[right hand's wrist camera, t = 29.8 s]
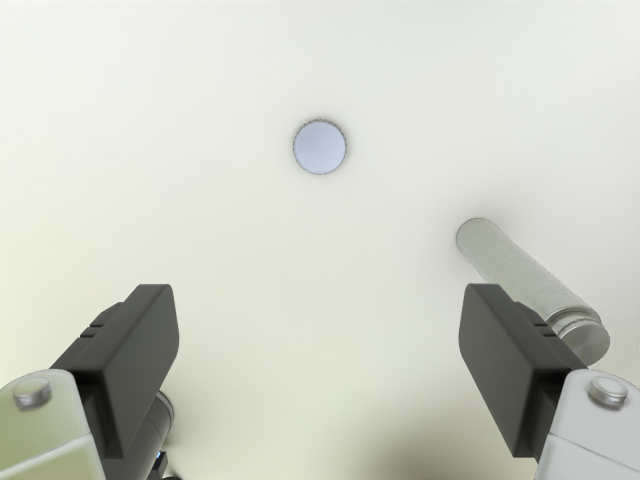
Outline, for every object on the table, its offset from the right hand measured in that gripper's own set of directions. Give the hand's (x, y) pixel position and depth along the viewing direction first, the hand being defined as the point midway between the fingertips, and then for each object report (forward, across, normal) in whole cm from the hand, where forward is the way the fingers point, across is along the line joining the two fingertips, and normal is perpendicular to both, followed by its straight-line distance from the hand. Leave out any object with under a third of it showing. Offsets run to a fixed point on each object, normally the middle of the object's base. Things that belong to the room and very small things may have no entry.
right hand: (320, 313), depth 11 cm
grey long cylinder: (+29, +16, -9) cm, 34 cm away
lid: (+28, 0, 0) cm, 28 cm away
